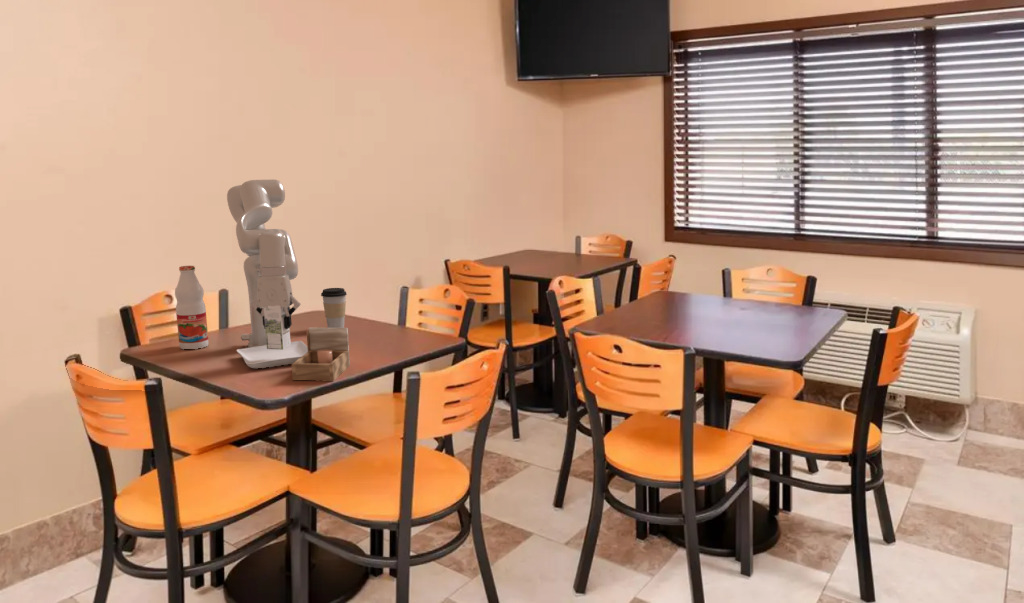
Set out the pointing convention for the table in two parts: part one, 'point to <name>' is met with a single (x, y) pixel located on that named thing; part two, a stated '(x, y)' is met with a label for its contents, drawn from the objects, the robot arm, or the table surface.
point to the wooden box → (309, 362)
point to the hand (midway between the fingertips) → (277, 327)
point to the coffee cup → (334, 306)
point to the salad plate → (272, 355)
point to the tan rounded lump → (325, 356)
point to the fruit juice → (190, 311)
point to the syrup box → (276, 328)
